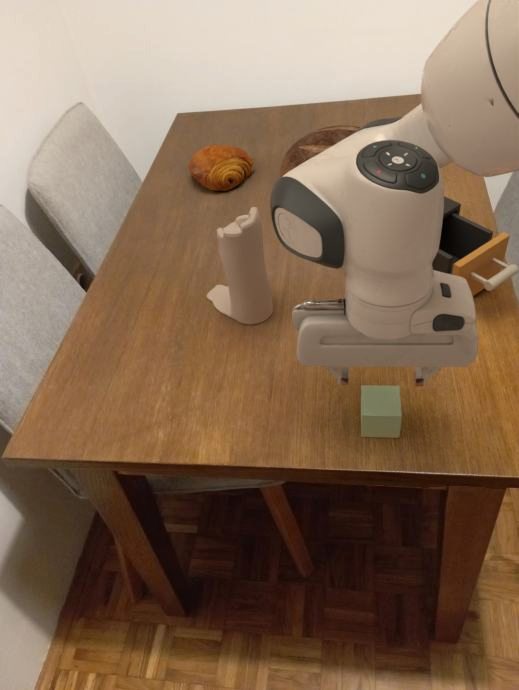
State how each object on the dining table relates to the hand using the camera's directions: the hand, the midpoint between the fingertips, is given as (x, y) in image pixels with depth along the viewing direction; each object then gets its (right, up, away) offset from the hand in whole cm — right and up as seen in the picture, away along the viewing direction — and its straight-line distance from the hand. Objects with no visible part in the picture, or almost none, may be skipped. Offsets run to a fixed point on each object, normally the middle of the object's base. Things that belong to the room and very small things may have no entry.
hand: (380, 381), depth 66 cm
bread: (+3, +42, +52) cm, 67 cm away
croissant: (-24, +45, +59) cm, 78 cm away
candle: (-19, +12, +27) cm, 35 cm away
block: (+1, -6, +7) cm, 9 cm away
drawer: (+18, +15, +23) cm, 33 cm away
